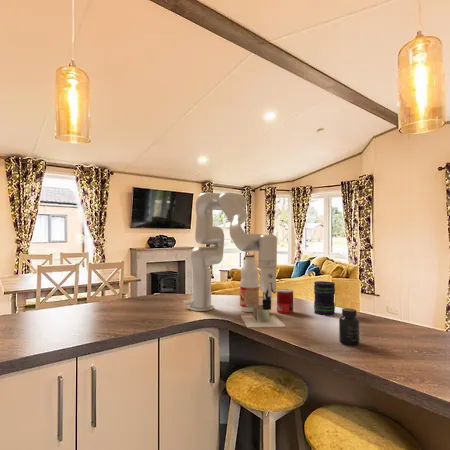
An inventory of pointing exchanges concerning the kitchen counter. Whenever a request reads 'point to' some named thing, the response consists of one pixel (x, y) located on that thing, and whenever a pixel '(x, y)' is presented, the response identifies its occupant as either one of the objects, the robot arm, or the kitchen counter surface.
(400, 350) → the kitchen counter surface
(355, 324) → the supplement bottle
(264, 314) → the block
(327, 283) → the storage jar
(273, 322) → the mat
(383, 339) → the kitchen counter surface
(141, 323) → the kitchen counter surface
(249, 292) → the fruit juice
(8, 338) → the kitchen counter surface
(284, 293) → the canned food
